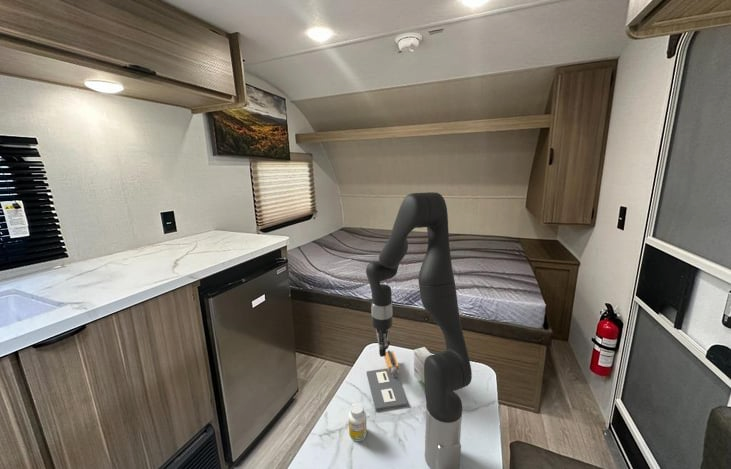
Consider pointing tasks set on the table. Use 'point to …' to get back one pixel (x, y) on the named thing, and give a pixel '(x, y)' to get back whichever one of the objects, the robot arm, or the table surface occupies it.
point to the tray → (385, 390)
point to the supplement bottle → (357, 422)
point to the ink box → (420, 364)
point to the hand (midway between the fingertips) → (382, 355)
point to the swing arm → (391, 362)
